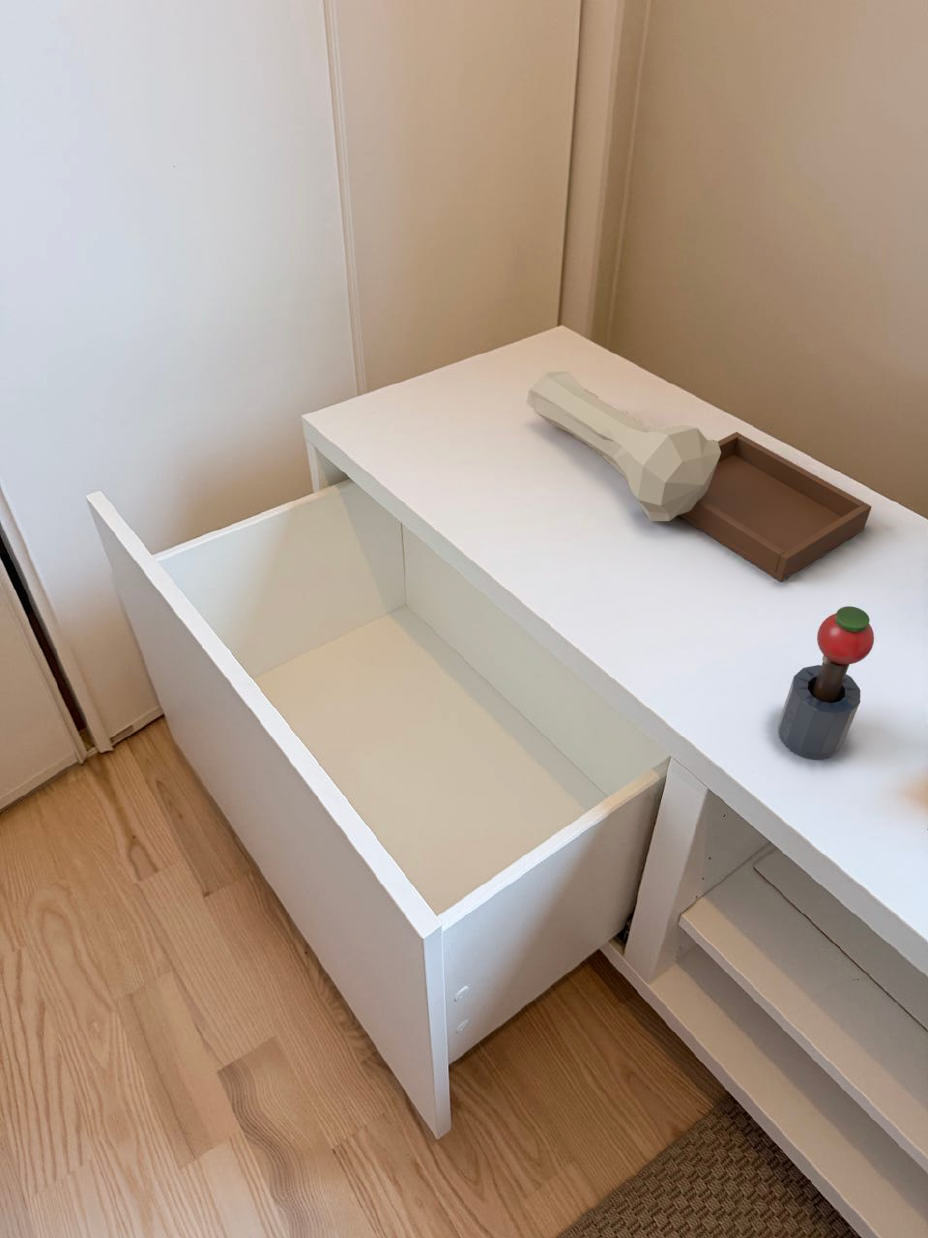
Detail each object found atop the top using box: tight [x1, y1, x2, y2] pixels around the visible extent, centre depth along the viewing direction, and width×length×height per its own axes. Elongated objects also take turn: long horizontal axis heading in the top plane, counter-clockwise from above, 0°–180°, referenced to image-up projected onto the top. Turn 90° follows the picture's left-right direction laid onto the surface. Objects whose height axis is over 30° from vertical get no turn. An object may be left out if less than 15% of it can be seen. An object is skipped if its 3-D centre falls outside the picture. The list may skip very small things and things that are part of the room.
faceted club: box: [526, 370, 721, 522], centre depth 89 cm, size 9×8×25 cm
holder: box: [777, 664, 861, 761], centre depth 65 cm, size 4×4×5 cm
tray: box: [677, 431, 872, 583], centre depth 85 cm, size 15×11×3 cm
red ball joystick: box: [811, 605, 875, 703], centre depth 63 cm, size 3×3×11 cm
